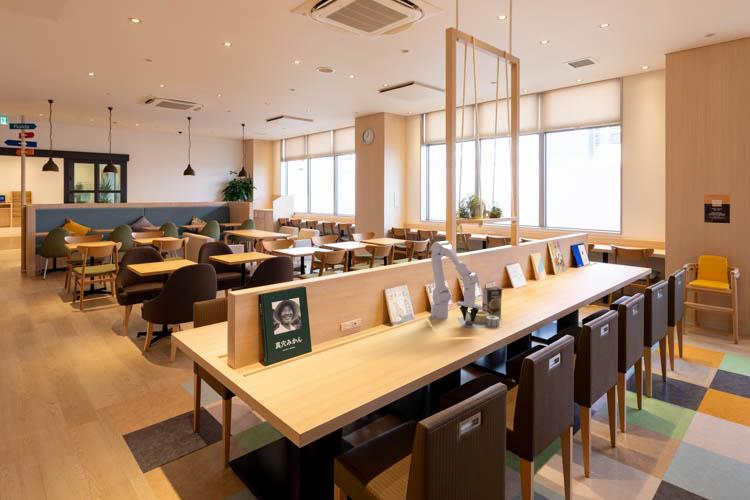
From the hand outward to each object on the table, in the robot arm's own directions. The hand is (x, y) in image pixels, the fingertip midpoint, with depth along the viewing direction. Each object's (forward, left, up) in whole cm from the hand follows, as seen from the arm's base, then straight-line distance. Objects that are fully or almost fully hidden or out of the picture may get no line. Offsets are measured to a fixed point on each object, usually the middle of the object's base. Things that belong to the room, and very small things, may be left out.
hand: (469, 320), depth 243 cm
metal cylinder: (0, 0, -2) cm, 2 cm away
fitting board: (+6, +3, -3) cm, 7 cm away
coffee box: (+18, +19, -3) cm, 26 cm away
